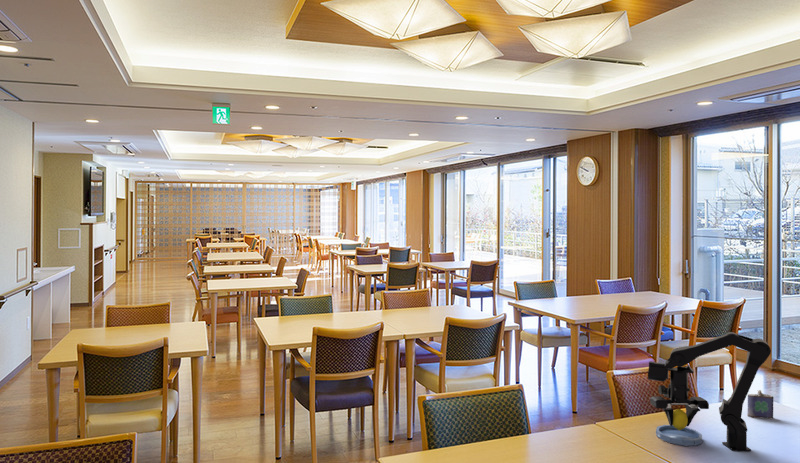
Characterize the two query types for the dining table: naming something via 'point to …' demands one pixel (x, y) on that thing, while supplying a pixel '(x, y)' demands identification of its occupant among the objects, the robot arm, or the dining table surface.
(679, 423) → the lemon
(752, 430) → the dining table surface
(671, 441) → the light blue round dish
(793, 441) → the dining table surface
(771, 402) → the flask
